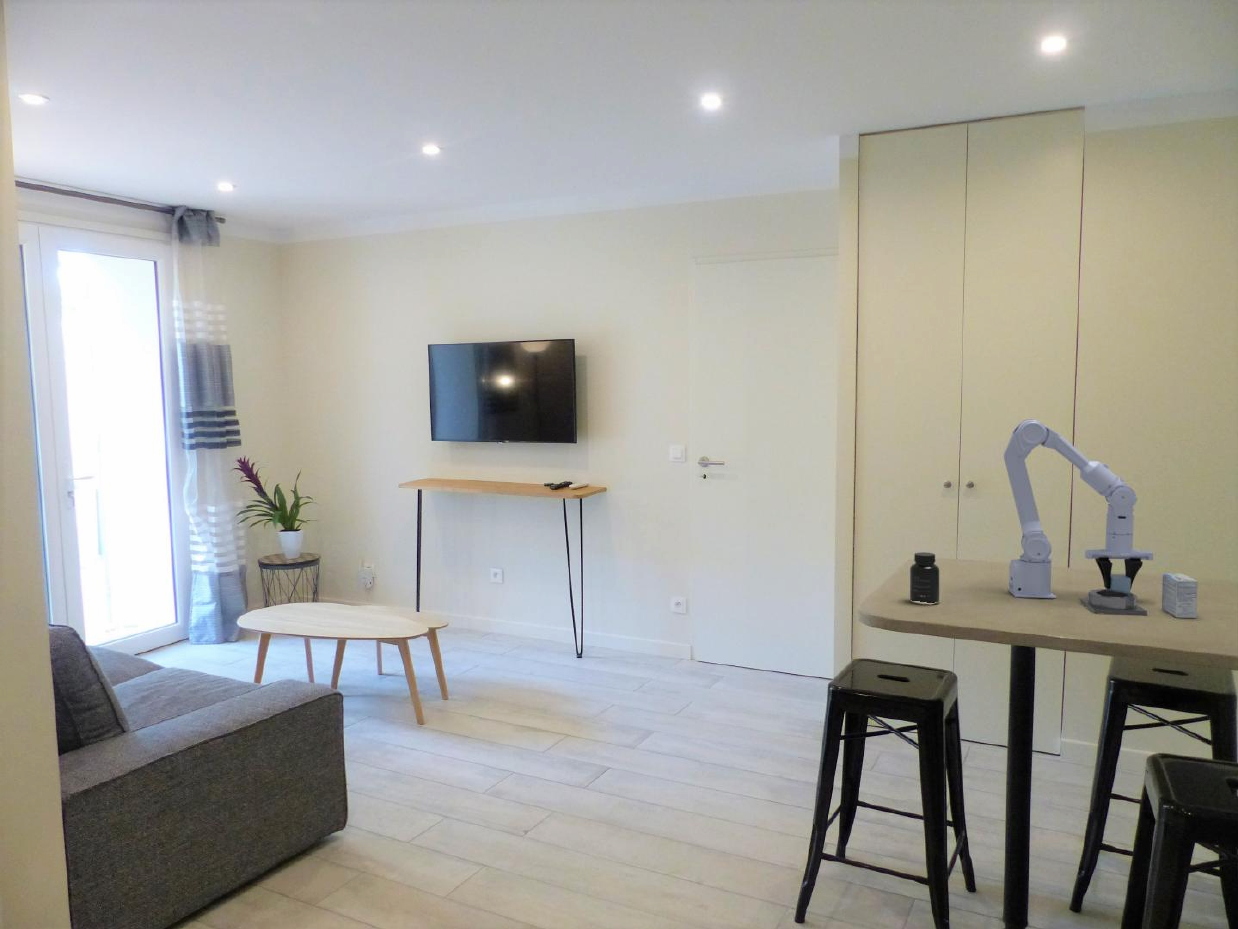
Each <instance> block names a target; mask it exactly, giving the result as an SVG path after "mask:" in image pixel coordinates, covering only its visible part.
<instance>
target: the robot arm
mask: <svg viewBox="0 0 1238 929" xmlns="http://www.w3.org/2000/svg"><path fill="white" fill-rule="evenodd" d="M1039 446H1042V447H1044V448H1048V449H1052V450H1055V451H1056V452H1057V453H1058V454H1060V455H1061V456H1062V457H1063V458H1065V459H1066V460H1067V461H1068V462H1070V463H1071V464H1072V465H1073V466H1074V467H1075V468H1077V469H1078V470H1079V474H1080V476H1079V477H1080V479H1081V480H1082V481H1083V482H1084V483H1086V485H1088V486H1089V487H1091V489H1093V490H1094V491H1095V492H1096V493H1097V494H1099V495H1100V496H1104V498H1105V501H1106V502H1107V513H1106V523H1105V524H1106V526H1105V527H1106V528H1105V548H1104V549H1103V548H1101V549H1085V550H1084V558H1085V559H1088V560H1092V559H1095V563H1096V564H1097V566H1098V568H1099V571H1100V574H1101V576H1102V581H1103V587H1104V588H1105V589H1110V586H1111V574H1112V569H1113V565H1114V564H1113V562H1111V560H1124V569H1125V570H1124V571H1125V573H1124V575H1126V576H1127V577H1129V578H1131V588H1130V591H1131V590H1132V587H1133V583H1134V581H1135V578H1136V577H1137V574H1138V573H1139V571H1140V570H1141V568H1142V567H1143V563H1144V562H1143V561H1146V560H1147V561H1154V552H1152V551H1150V550H1136V549H1135V550H1134V549H1133V546H1134V545H1133V544H1134V524H1135V523H1134V521H1135V520H1134V519H1135V518H1134V516H1135V515H1134V511H1135V510H1134V508H1135V507H1134V506H1135V505H1136V503H1137V502H1138V501H1137V500H1138V497H1137V494H1136V492H1135V490H1134V489H1133V488H1132V487H1130V486H1129V485H1128V484H1126V483H1124V482H1125V479H1124V478H1122V477H1118V476H1117V475H1116V474H1114V472H1112V471H1111V470H1110V469H1108V468H1109V464H1107V463H1105V462H1103V463H1101V462H1100V461H1099V460H1089V459H1088V457H1086V456H1085V455H1084V454H1082V452H1080V451H1079V450H1078V448H1076V447H1075V446H1073V445H1072V444H1071V442H1069V441H1068V440H1067V439H1066V438H1064V436H1062V434H1060V433H1058V432H1057V431H1055V430H1053V429H1052V428H1049V427H1048V426H1046V425H1044V423H1042V422H1041V421H1039V420H1036V419H1033V418H1029V419H1024V420H1023V421H1021V422H1020V423H1019V424H1017V426H1015V429H1013V431H1012V433H1011V436H1010V438H1009V440H1008V443H1007V445H1006V448H1005V450H1004V452H1003V460H1004V463H1005V466H1006V472H1007V476H1008V480H1009V483H1010V484H1009V485H1010V487H1011V492H1012V495H1013V496H1012V497H1013V499H1014V503H1015V507H1016V511H1017V515H1018V520H1019V523H1020V524H1019V525H1020V528H1021V532H1022V537H1021V540H1020V544H1021V547H1022V549H1023V552H1022V554H1021V555H1020V556H1019V559H1011V560H1010V561H1009V564H1008V565H1009V567H1008V569H1009V570H1008V588H1007V590H1008V591H1009V593H1011V595H1013V596H1014V597H1016V598H1033V599H1035V598H1036V599H1037V598H1039V599H1057V596H1056V595H1055V594H1053V593H1052V590H1051V589H1052V565H1053V564H1052V562H1053V561H1052V560H1053V559H1052V558H1051V557H1050V555H1051V553H1052V548H1053V547H1052V545H1051V543H1050V541H1049V540H1048V537H1047V535H1045V534H1044V530H1043V527H1042V523H1041V520H1040V516H1039V512H1038V509H1037V505H1036V500H1035V496H1034V492H1033V489H1032V485H1031V480H1030V476H1029V473H1028V468H1027V465H1026V461H1025V460H1026V459H1027V458H1028V456H1029V455H1030V454H1031V452H1032V451H1033V450H1034V449H1035V448H1037V447H1039Z"/></svg>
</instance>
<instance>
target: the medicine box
mask: <svg viewBox="0 0 1238 929" xmlns="http://www.w3.org/2000/svg"><path fill="white" fill-rule="evenodd" d="M1198 584H1199V583H1198V580H1197V579H1194V578H1192V577H1190V576H1189V575H1186V574H1183V573H1163V574H1162V591H1161V610H1163V611H1164V612H1167V613H1168V614H1170V615H1171V616H1173V617H1175V618H1176V619H1177V618H1179V619H1197V618H1198V592H1199V591H1198V588H1199V586H1198Z"/></svg>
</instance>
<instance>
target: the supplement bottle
mask: <svg viewBox="0 0 1238 929" xmlns="http://www.w3.org/2000/svg"><path fill="white" fill-rule="evenodd" d="M913 558H914V559H913V562H914V563H913V564H911V566H910V569H909V599H910V601H911V600H912V601H920V602H927V603H935V602H938V603H940V567H939V565H936V564H935V563H936V554H935V553H932V552H926V551H925V552H915V553H914V556H913Z"/></svg>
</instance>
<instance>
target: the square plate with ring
mask: <svg viewBox="0 0 1238 929" xmlns="http://www.w3.org/2000/svg"><path fill="white" fill-rule="evenodd" d="M1078 600H1079V601H1080V602H1081V603H1082V604H1083V605H1082V604H1081V603H1080V602H1079V603H1080V604H1081V605H1082V606H1084V607H1085V608H1086V607H1087V608H1086V609H1088V610H1089V611H1090V612H1091V613H1093V614H1094V613H1099V614H1100V613H1104V614H1103V615H1122V614H1126V615H1125V616H1147V615H1148V610H1146V609H1145V608H1143V607H1141V606H1140V605H1138V604H1137V602H1138V601H1137V600H1138V595H1136V594H1135V593H1133V592H1130V593H1129V592H1125V591H1119V590H1109V589H1106V588H1105V589H1103V588H1101V589H1092V590H1089V591H1088V597H1087V598H1086V597H1085V598H1084V597H1079V599H1078ZM1100 615H1101V614H1100Z"/></svg>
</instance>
